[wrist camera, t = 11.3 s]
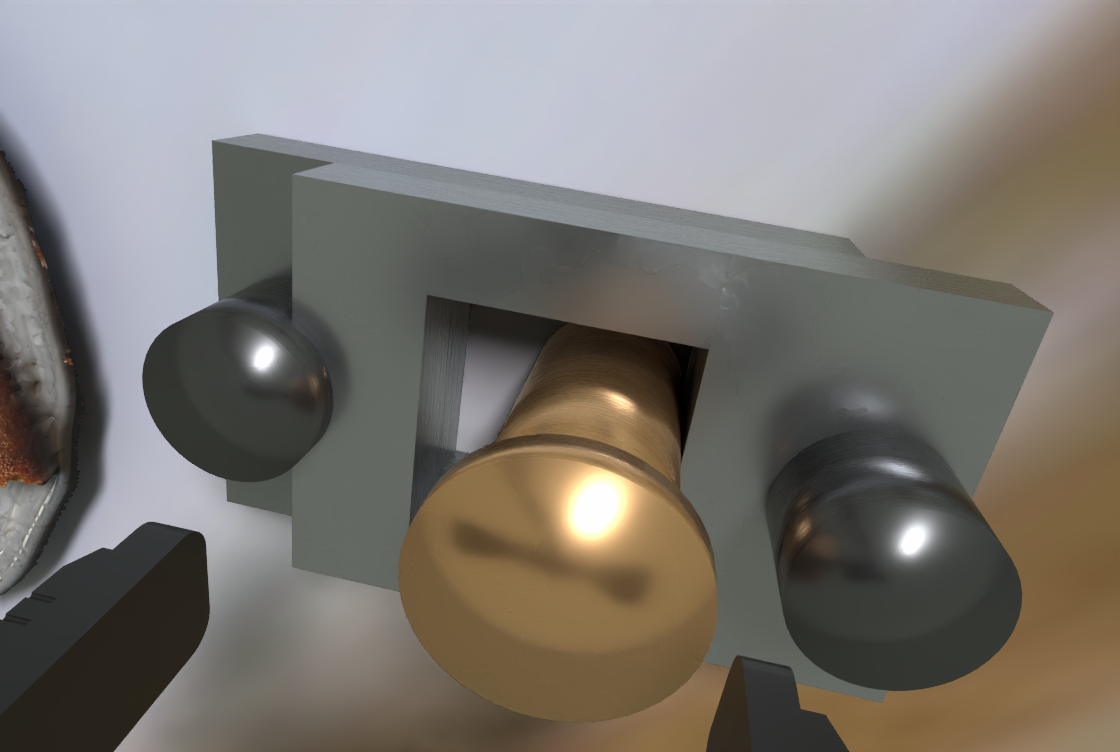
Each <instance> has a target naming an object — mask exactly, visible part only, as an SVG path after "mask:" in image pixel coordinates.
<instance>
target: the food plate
mask: <svg viewBox="0 0 1120 752" xmlns="http://www.w3.org/2000/svg"><path fill="white" fill-rule="evenodd" d="M14 173H15V172H14V171H13V167H11V166H10V162H8V163H7V160H6V159H5V153H4V151H2V150H0V595H2V594H5V593H6V592H8V590H10V588H11V587H13V586H14V585H16V584H18V582H20V581H21V580H22V579H23V578H24V577H25V575H26V574H27V573H28V572H29V571H30V569H31V568H33V567H34V566H35V565H37V562H36V560H37V559H38V558H40V557H39V556H40V555H41V553H42V552H43V550H42V549H43V546H44V545H46V544H47V541H48V539H47V538H49V536H50V533H51V532H52V530H53V529H52V528H54V527H55V523H56V522H57V521H58V518H57V517H58V516H61V515H60V514H61V511H62V510H65V508H66V507H65V506H64V505H65V503H67V502H69V501H68V499H69V498H70V497H72V492H74V491H73V490H75V488H76V487H77V486H76V485H77V484H76V483H78V482H77V480H78V479H79V477H78V475H79V474H78V473H79V472H80V471H78V470H77V465H78V464H77V462H78V458H77V454H78V450H77V449H76V448H75V447H74V446H78V445H77V444H76V443H78V442H77V441H76V438H78V432H79V428H80V424H79V423H81V421H80V420H79V419H80V418H81V416H82V415H83V413H82V411H83V409H84V406H85V405H82V402H81V401H82V395H81V394H80V393H79V390H80V389H81V388H80V383H79V382H78V380H77V378H76V377H77V376H78V375H76V374H75V369H74V364H73V363H72V362H71V360H72V359H70V358H69V357H68V354H69V353H70V352H71V350H69V349H68V348H67V345H69V341H68V336H67V334H66V329H65V328H64V325H63V321H62V318H61V313H60V309H59V308H57V306H58V304H57V301H56V298H57V297H56V294H55V291H54V289H53V287H52V285H51V282H50V281H49V279H50V274H49V271H48V268H47V264H46V261H45V258H44V256H43V254H42V252H41V250H40V246H39V244H38V241H37V239H36V237H35V234H34V228H33V223H32V220H31V216H30V214H29V208H28V201H27V199H26V194H25V191H26V189H24V186H23V184H22V183H21V182H20V180H19V179H17V178H16V177H15V175H14Z"/></svg>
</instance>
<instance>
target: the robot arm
mask: <svg viewBox="0 0 1120 752" xmlns="http://www.w3.org/2000/svg"><path fill="white" fill-rule="evenodd" d="M209 614H210V605H209V588H208V572H207V555H206V542H205V539H204V536H203V535H202V534H201V533H200V532H196V531H192V530H188V529H183V528H179V527H174V526H170V525H165V524H161V523H156V522H147V523H145V524H143V525H141V526H140V527H139V528H137V529H136V530H135V531H134V532H133V533H132V534H130V535H129V536H128V537H127V538H126V539H125V540H123V541H122V542H121V543H120V544H119V545H118V546H117V547H115V548H114V549H113V550H111V549H106V548H101V549H99V550H97V551H95V552H93V553H90V554H88V555H86V556H84V557H82V558H80V559H78V560H76V561H74V562H72V563H69V564H67V565H65V566H63V567H62V568H61V569H59V570H58V571H57V572H56V573H55V574H53V575H52V576H51V577H50V578H48V579H47V580H46V581H45V582H44V583H42V584H41V585H40V586H39V587H38V588H36V589H35V590H34V591H33V592H32V594H31V596H30V598H26V597H25V598H24V599H23V600H22V601H21V602H19V603H18V604H17V605H16V606H15V607H13V608H12V609H11V610H10V611H8V612H7V613H6V616H5V618H4V619H3V620H0V752H114V751H115V749H116V748H117V747H118V746H119V744H120V743H121V742H122V741H123V739H124V738H125V737H126V736H127V735H128V733H129V732H130V731H131V730H132V728H133V727H134V726H135V725H136V724H137V722H138V721H139V720H140V719H141V717H142V716H143V715H144V714H145V713H146V711H147V710H148V709H149V708H150V706H151V705H152V704H153V703H154V702H155V700H156V699H157V698H158V697H159V695H160V694H161V693H162V692H163V691H164V689H165V688H166V687H167V686H168V684H169V683H170V682H171V681H172V680H173V678H174V677H175V676H176V675H177V673H178V672H179V671H180V670H181V668H182V667H183V666H184V665H185V664H186V662H187V661H188V660H189V659H190V657H191V656H192V655H193V654H194V652H195V651H196V649H197V648H198V646H199V644H200V642H201V641H202V638H203V636H204V634H205V631H206V628H207V625H208V620H209ZM706 752H849V750H848V749H847V747H846V746H845V744H844V743H843V741H842V740H841V738H840V737H839V735H838V733H837V732H836V730H835V729H834V727H833V726H832V724H831V723H830V721H829V720H828V718H827V716H826V715H824V714H819V713H815V712H811V711H806V710H802V709H800V704H799V698H798V693H797V688H796V682H795V677H794V673H793V670H792V669H791V667H789V666H785V665H781V664H776V663H772V662H767V661H763V660H758V659H754V658H749V657H745V656H740V655H737V656H736V657H735V659H734V661H733V663H732V666H731V669H730V672H729V675H728V678H727V681H726V684H725V687H724V690H723V693H722V696H721V699H720V702H719V705H718V708H717V711H716V714H715V717H714V720H713V723H712V726H711V729H710V733H709V738H708V743H707V749H706Z"/></svg>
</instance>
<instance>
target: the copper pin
mask: <svg viewBox="0 0 1120 752" xmlns="http://www.w3.org/2000/svg"><path fill="white" fill-rule="evenodd" d="M681 408H682V377H681V370H680V367H679V363H678V360H677V358H676V356H675V354H674V352H673V350H672V349H671V347H670V345H669V344H668V343H667V342H666V341H664V340H658V339H653V338H648V337H643V336H638V335H633V334H627V333H622V332H617V331H612V330H607V329H602V328H596V327H591V326H586V325H581V324H576V323H571V322H569V323H567V324H565V325H564V326H562V327H561V328H560V329H559V330H557V331H556V332H555V333H554V334H553V335H552V336H551V337H550V339H549V340H548V341H547V343H546V344H545V346H544V347H543V349H542V351H541V353H540V355H539V357H538V359H537V361H536V363H535V365H534V367H533V369H532V370H531V372H530V374H529V376H528V378H527V380H526V382H525V384H524V386H523V388H522V390H521V392H520V394H519V396H518V398H517V400H516V402H515V404H514V406H513V408H512V410H511V411H510V413H509V415H508V417H507V419H506V421H505V423H504V425H503V427H502V429H501V431H500V433H499V435H498V437H497V439H496V441H495V443H493V444H490V445H487V446H484V447H482V448H480V449H478V450H477V451H475V452H473V453H471V454H469V455H467V456H466V457H464V458H463V459H461V460H460V461H459V462H457V463H456V464H455V465H453V466H452V467H451V468H450V469H449V470H448V471H447V472H446V473H445V474H444V475H443V476H442V477H441V478H440V479H439V480H438V482H437V483H436V484H435V486H434V487H433V488H432V490H431V491H430V492H429V494H428V496H427V497H426V499H425V501H424V502H423V504H422V506H421V507H420V509H419V511H418V512H417V514H416V516H415V517H414V519H413V521H412V523H411V525H410V527H409V529H408V531H407V532H406V535H405V538H404V541H403V544H402V547H401V552H400V558H399V565H398V583H399V589H400V595H401V600H402V604H403V607H404V610H405V613H406V616H407V618H408V620H409V623H410V625H411V627H412V629H413V631H414V633H415V634H416V636H417V638H418V639H419V641H420V642H421V644H422V645H423V647H424V648H425V649H426V651H427V652H428V653H429V654H430V656H431V657H432V658H433V659H434V660H435V661H436V662H437V663H438V664H439V665H440V666H441V667H442V668H443V669H444V670H445V671H446V672H447V673H448V674H449V675H450V676H451V677H453V678H454V679H455V680H456V681H458V682H459V683H460V684H461V685H463V686H464V687H466V688H468V689H469V690H471V691H472V692H474V693H475V694H477V695H478V696H480V697H482V698H484V699H486V700H488V701H490V702H492V703H494V704H496V705H499V706H501V707H504V708H506V709H509V710H511V711H514V712H517V713H521V714H524V715H527V716H531V717H535V718H541V719H546V720H551V721H562V722H595V721H604V720H611V719H615V718H620V717H624V716H628V715H631V714H634V713H637V712H640V711H642V710H645V709H647V708H649V707H651V706H653V705H655V704H657V703H659V702H661V701H662V700H664V699H665V698H667V697H668V696H670V695H671V694H673V693H674V692H676V691H677V690H678V689H679V688H680V687H681V686H682V685H684V684H685V683H686V682H687V681H688V680H689V679H690V677H691V676H692V675H693V674H694V673H695V671H696V670H697V669H698V668H699V666H700V665H701V663H702V661H703V660H704V658H705V656H706V655H707V653H708V650H709V648H710V645H711V643H712V640H713V638H714V633H715V628H716V624H717V612H718V596H717V579H716V567H715V558H714V552H713V549H712V545H711V542H710V538H709V535H708V533H707V531H706V529H705V526H704V524H703V522H702V520H701V518H700V517H699V515H698V513H697V512H696V510H695V509H694V507H693V506H692V504H691V503H690V501H689V500H688V499H687V498H686V497H685V496H684V494H683V493H682V492H681V491H680V475H681Z"/></svg>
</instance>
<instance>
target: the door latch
mask: <svg viewBox="0 0 1120 752" xmlns="http://www.w3.org/2000/svg"><path fill="white" fill-rule="evenodd" d="M212 153H213V177H214V200H215V224H216V248H217V271H218V295H219V301H218V302H216V303H214V304H212V305H210V306H208V307H206V308H204V309H202V310H200V311H198V312H196V313H194V314H192V315H190V316H188V317H186V318H184V319H182V320H180V321H178V322H176V323H174V324H172V325H170V326H169V327H168V328H166V329H165V330H163V331H162V332H161V333H160V334H159V335H158V336H157V337H156V339H155V340H154V342H153V343H152V344H151V346H150V348H149V350H148V352H147V354H146V358H145V361H144V366H143V374H142V378H143V390H144V396H145V400H146V403H147V407H148V409H149V412H150V414H151V416H152V418H153V420H154V422H155V424H156V426H157V427H158V429H159V430H160V432H161V433H162V435H163V436H164V437H165V439H166V440H167V441H168V442H169V443H170V445H171V446H172V447H173V448H174V449H175V450H176V451H177V452H178V453H179V454H181V455H182V456H183V457H184V458H186V459H187V460H188V461H189V462H191V463H192V464H194V465H196V466H197V467H199V468H200V469H202V470H204V471H206V472H208V473H210V474H213V475H215V476H218V477H221V478H224V479H226V484H227V501H228V502H233V503H237V504H242V505H246V506H251V507H255V508H260V509H264V510H269V511H273V512H278V513H282V514H286V515H291V516H292V567H294V568H299V569H303V570H307V571H312V572H316V573H320V574H325V575H329V576H333V577H338V578H342V579H346V580H351V581H355V582H359V583H364V584H368V585H372V586H377V587H381V588H385V589H390V590H394V591H398V592H400V589H399V583H398V565H399V558H400V552H401V547H402V544H403V541H404V538H405V535H406V532H407V531H408V529H409V527H410V525H411V523H412V521H413V519H414V517H415V516H416V514H417V512H418V511H419V509H420V507H421V506H422V504H423V502H424V501H425V499H426V497H427V496H428V494H429V492H430V491H431V490H432V488H433V487H434V486H435V484H436V483H437V482H438V480H439V479H440V478H441V477H442V476H443V475H444V474H445V473H446V472H447V471H448V470H449V469H450V468H451V467H452V466H453V465H455V464H456V463H457V462H459V461H460V460H461V459H463V458H464V457H466V456H467V455H469V453H464V452H459V451H456V442H457V432H458V422H459V413H460V403H461V393H462V383H463V374H464V364H465V354H466V344H467V335H468V325H469V315H470V305H471V303H472V304H477V305H483V306H488V307H493V308H498V309H503V310H509V311H514V312H519V313H524V314H529V315H534V316H540V317H545V318H550V319H555V320H560V321H565V322H571V323H576V324H581V325H586V326H591V327H596V328H602V329H607V330H612V331H617V332H622V333H627V334H633V335H638V336H643V337H648V338H653V339H658V340H664V341H669V342H674V343H679V344H684V345H689V346H693V347H692V352H691V356H690V360H689V364H688V369H687V373H686V377H685V381H684V386H683V390H682V408H681V475H680V491H681V492H682V493H683V494H684V496H685V497H686V498H687V499H688V500H689V501H690V503H691V504H692V506H693V507H694V509H695V510H696V512H697V513H698V515H699V517H700V518H701V520H702V522H703V524H704V526H705V529H706V531H707V533H708V535H709V538H710V542H711V545H712V549H713V552H714V558H715V567H716V579H717V596H718V612H717V624H716V628H715V633H714V638H713V640H712V643H711V645H710V648H709V650H708V653H707V655H706V656H705V658H704V660H703V661H702V662H707V663H711V664H715V665H720V666H724V667H728V668H731V666H732V663H733V661H734V659H735V657H736V656H737V655H740V656H745V657H749V658H754V659H758V660H763V661H767V662H772V663H776V664H781V665H785V666H789V667H791V669H792V670H793V673H794V677H795V682H796V683H798V684H802V685H807V686H811V687H815V688H820V689H824V690H828V691H833V692H837V693H841V694H846V695H850V696H854V697H859V698H863V699H867V700H872V701H876V702H880V703H882V702H883V699H884V697H885V695H886V693H887V690H889V691H908V690H917V689H925V688H929V687H934V686H938V685H942V684H945V683H948V682H951V681H954V680H956V679H958V678H961V677H963V676H965V675H967V674H969V673H970V672H972V671H974V670H976V669H977V668H979V667H980V666H982V665H983V664H984V663H986V662H987V661H989V660H990V659H991V658H992V657H993V656H994V655H995V654H996V653H997V652H998V651H999V650H1000V649H1001V648H1002V646H1003V645H1004V644H1005V643H1006V642H1007V640H1008V639H1009V637H1010V635H1011V634H1012V632H1013V630H1014V628H1015V626H1016V623H1017V621H1018V619H1019V614H1020V610H1021V604H1022V590H1021V582H1020V579H1019V575H1018V572H1017V569H1016V567H1015V565H1014V563H1013V561H1012V560H1011V558H1010V556H1009V555H1008V553H1007V552H1006V550H1005V549H1004V547H1003V546H1002V544H1001V543H1000V541H999V540H998V538H997V537H996V535H995V534H994V532H993V531H992V529H991V527H990V526H989V524H988V523H987V521H986V520H985V518H984V517H983V515H982V514H981V512H980V511H979V509H978V508H977V506H976V505H975V503H974V502H973V500H972V498H973V495H974V493H975V491H976V489H977V486H978V484H979V482H980V479H981V477H982V475H983V473H984V470H985V468H986V466H987V464H988V461H989V459H990V457H991V455H992V452H993V450H994V448H995V445H996V443H997V441H998V439H999V436H1000V434H1001V432H1002V430H1003V427H1004V425H1005V423H1006V421H1007V418H1008V416H1009V414H1010V411H1011V409H1012V407H1013V405H1014V402H1015V400H1016V398H1017V396H1018V393H1019V391H1020V389H1021V386H1022V384H1023V382H1024V380H1025V377H1026V375H1027V373H1028V371H1029V368H1030V366H1031V364H1032V362H1033V359H1034V357H1035V355H1036V352H1037V350H1038V348H1039V346H1040V343H1041V341H1042V339H1043V337H1044V334H1045V332H1046V330H1047V328H1048V325H1049V323H1050V321H1051V318H1052V316H1053V314H1054V312H1052V311H1051V310H1049V309H1048V308H1046V307H1045V306H1043V305H1042V304H1040V303H1039V302H1037V301H1036V300H1034V299H1033V298H1031V297H1030V296H1028V295H1027V294H1025V293H1024V292H1022V291H1021V290H1019V289H1018V288H1016V287H1015V286H1013V285H1012V284H1008V283H1002V282H997V281H991V280H986V279H980V278H975V277H969V276H963V275H958V274H952V273H947V272H941V271H936V270H930V269H924V268H919V267H913V266H908V265H902V264H897V263H891V262H885V261H880V260H874V259H869V258H866V257H865V256H864V254H863V253H862V252H861V251H860V250H859V249H858V248H857V247H856V246H855V245H854V244H853V243H852V242H851V241H850V240H849V239H848V238H842V237H837V236H831V235H825V234H820V233H814V232H809V231H803V230H797V229H792V228H786V227H780V226H775V225H769V224H763V223H758V222H752V221H747V220H741V219H735V218H730V217H724V216H718V215H713V214H707V213H702V212H696V211H690V210H685V209H679V208H673V207H668V206H662V205H656V204H651V203H645V202H640V201H634V200H628V199H623V198H617V197H611V196H606V195H600V194H595V193H589V192H583V191H578V190H572V189H566V188H561V187H555V186H549V185H544V184H538V183H533V182H527V181H521V180H516V179H510V178H504V177H499V176H493V175H488V174H482V173H476V172H471V171H465V170H459V169H454V168H448V167H442V166H437V165H431V164H426V163H420V162H414V161H409V160H403V159H397V158H392V157H386V156H381V155H375V154H369V153H364V152H358V151H352V150H347V149H341V148H335V147H330V146H324V145H319V144H313V143H307V142H302V141H296V140H290V139H285V138H279V137H274V136H268V135H262V134H252V135H246V136H239V137H233V138H226V139H220V140H213V141H212Z"/></svg>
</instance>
